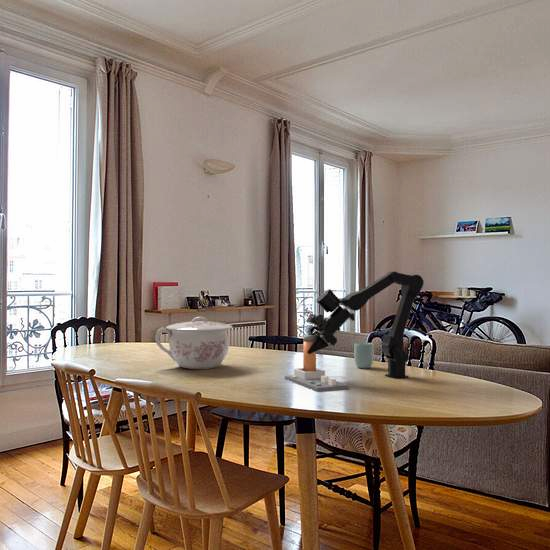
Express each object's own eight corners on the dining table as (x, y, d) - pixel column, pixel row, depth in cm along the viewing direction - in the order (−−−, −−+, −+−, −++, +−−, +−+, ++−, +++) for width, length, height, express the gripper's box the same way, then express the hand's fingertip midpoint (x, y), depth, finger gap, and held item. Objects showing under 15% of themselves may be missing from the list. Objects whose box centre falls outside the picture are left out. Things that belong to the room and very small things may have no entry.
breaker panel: (348, 388, 187) (348, 377, 187) (316, 391, 182) (316, 380, 182) (313, 376, 209) (313, 366, 209) (284, 379, 204) (284, 368, 204)
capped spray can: (318, 371, 203) (318, 335, 203) (310, 373, 199) (310, 336, 199) (308, 370, 206) (308, 334, 206) (300, 371, 202) (300, 335, 202)
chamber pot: (245, 365, 234) (245, 316, 234) (205, 375, 211) (205, 320, 211) (193, 359, 249) (193, 313, 249) (149, 368, 225) (150, 317, 225)
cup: (351, 368, 228) (351, 343, 229) (357, 365, 235) (358, 342, 235) (369, 369, 225) (370, 345, 225) (375, 367, 232) (376, 343, 232)
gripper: (312, 304, 212) (284, 334, 210) (328, 307, 194) (297, 339, 192) (332, 324, 214) (304, 354, 212) (349, 329, 196) (319, 361, 194)
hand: (306, 352), depth 202 cm, fingers closed on capped spray can, 5 cm apart
